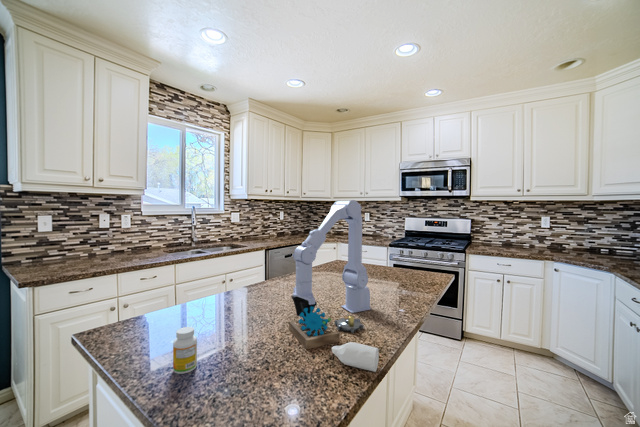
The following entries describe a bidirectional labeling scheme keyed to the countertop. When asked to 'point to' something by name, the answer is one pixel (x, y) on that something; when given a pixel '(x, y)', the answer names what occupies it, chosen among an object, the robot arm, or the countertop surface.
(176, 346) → the supplement bottle
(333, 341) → the tray
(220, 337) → the countertop surface
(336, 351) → the white plastic bottle
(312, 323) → the gear
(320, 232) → the robot arm
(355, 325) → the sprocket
